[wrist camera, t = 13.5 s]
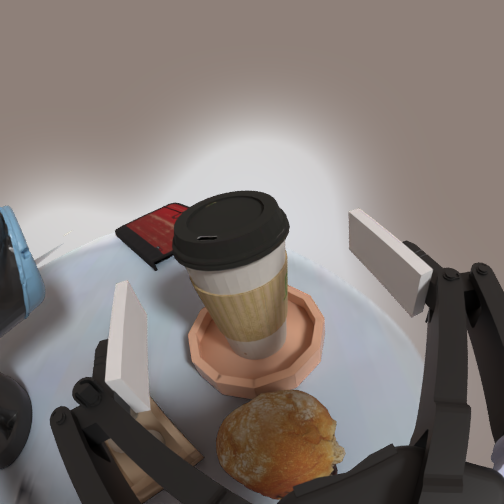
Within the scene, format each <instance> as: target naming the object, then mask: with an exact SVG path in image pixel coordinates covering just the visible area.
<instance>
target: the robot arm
mask: <svg viewBox="0 0 504 504" xmlns="http://www.w3.org/2000/svg"><path fill="white" fill-rule="evenodd" d="M349 249H350V251H351V252H352V253H353V254H354V255H355V256H356V257H357V258H358V259H359V260H360V261H361V262H362V263H363V264H364V266H365V267H366V268H367V269H368V270H369V271H370V272H371V273H372V274H373V275H374V276H375V277H376V278H377V279H378V280H379V282H380V283H381V284H382V285H383V286H384V287H385V288H386V289H387V290H388V292H389V293H390V294H391V295H392V296H393V297H394V298H395V299H396V300H397V302H398V303H399V304H400V305H401V306H402V307H403V308H404V309H405V311H406V312H407V313H408V314H409V315H410V316H411V317H414V316H416V315H418V314H419V313H421V312H423V309H424V305H425V303H426V304H427V306H428V307H429V311H428V314H427V318H426V321H425V322H426V323H427V321H428V328H427V343H426V355H425V356H426V357H425V366H424V375H423V383H422V390H421V397H420V404H419V410H418V415H417V421H416V426H415V430H414V433H413V435H412V438H411V441H410V444H409V446H397V447H394V445H393V444H390V445H388V446H386V447H384V448H382V449H381V450H379V451H377V452H375V453H373V454H371V455H369V456H368V457H367V458H365V459H364V460H363V461H362V462H360V463H359V464H358V465H356V466H355V467H354V468H353V469H351V470H350V471H348V472H346V473H342V474H336V475H330V476H324V477H318V478H315V479H313V480H310V481H307V482H304V483H301V484H299V485H296V486H293V491H291V492H290V493H288V494H287V495H286V496H284V497H283V498H282V499H281V500H280V501H279V502H278V503H277V504H504V292H503V290H502V288H501V286H500V284H499V282H498V280H497V278H496V276H495V274H494V272H493V271H492V269H491V268H490V267H489V266H488V265H486V264H484V263H475V264H473V265H472V268H471V271H470V272H466V273H459V272H458V271H456V270H455V269H452V268H442V267H441V266H440V265H439V264H438V263H436V262H435V261H434V260H433V259H432V258H431V257H429V256H428V255H426V253H425V252H424V251H421V249H420V248H419V247H418V246H416V245H415V244H413V243H411V242H409V241H404V242H401V241H400V240H398V239H397V238H396V237H395V236H393V235H392V234H391V233H390V232H389V231H387V230H386V229H385V228H384V227H382V226H381V225H380V224H379V223H377V222H376V221H375V220H374V219H372V218H371V217H370V216H368V215H367V214H366V213H365V212H363V211H362V210H361V209H355V210H352V211H349ZM44 297H45V286H44V283H43V280H42V278H41V275H40V273H39V270H38V268H37V266H36V263H35V261H34V259H33V257H32V255H31V253H30V252H29V248H28V246H27V244H26V240H25V238H24V236H23V233H22V231H21V228H20V226H19V224H18V221H17V219H16V217H15V214H14V212H13V210H12V209H11V207H9V206H4V207H0V338H1V337H2V336H3V335H4V334H6V333H7V332H8V331H9V330H11V329H12V328H13V327H14V326H16V325H17V324H18V323H19V322H21V321H22V320H23V319H26V318H27V317H28V316H29V313H30V312H32V311H33V310H34V309H35V308H36V307H37V306H38V305H40V304H41V303H42V301H43V300H44ZM467 330H468V333H469V337H470V340H471V343H472V346H473V350H474V354H475V357H476V361H477V365H478V369H479V373H480V376H481V381H482V385H483V390H484V395H485V399H486V404H487V410H488V415H489V421H490V426H491V431H492V435H493V438H494V441H495V445H494V449H493V453H492V455H491V460H492V462H493V463H494V467H493V469H491V468H487V467H483V466H479V465H476V464H472V463H469V462H465V461H466V454H467V447H468V439H469V430H470V420H471V407H470V406H469V405H467V379H468V350H467ZM72 396H73V398H74V400H75V401H76V402H77V403H78V404H80V406H78V407H76V408H74V409H72V410H69V409H68V408H67V407H65V406H60V407H58V408H56V409H55V410H54V411H53V413H52V414H51V417H50V425H51V429H52V432H53V435H54V438H55V441H56V443H57V446H58V449H59V452H60V454H61V457H62V460H63V462H64V465H65V467H66V470H67V472H68V474H69V477H70V479H71V481H72V483H73V486H74V488H75V490H76V492H77V494H78V496H79V499H80V501H81V503H82V504H141V502H140V501H139V499H138V498H137V496H136V495H135V493H134V492H133V490H132V489H131V487H130V486H129V484H128V482H127V481H126V479H125V477H124V476H123V474H122V472H121V471H120V469H119V467H118V466H117V464H116V462H115V460H114V458H113V457H112V455H111V453H110V451H109V449H108V447H107V446H106V444H105V442H104V441H106V440H108V439H110V438H111V439H112V440H113V441H114V442H115V444H116V445H117V446H118V447H119V448H120V449H121V450H122V451H123V452H124V453H125V454H126V455H127V456H128V457H129V458H130V459H131V460H132V461H134V462H135V463H136V464H137V465H138V466H139V467H140V468H141V469H142V470H143V471H144V472H145V473H146V474H148V475H149V476H150V477H151V478H152V479H153V480H154V481H155V482H157V483H158V484H159V485H160V486H161V487H163V488H164V489H165V490H166V491H167V492H169V493H170V494H171V495H172V496H174V497H175V498H176V499H177V500H179V501H180V502H181V503H182V504H252V503H250V502H248V501H246V500H245V499H243V498H241V497H240V496H238V495H236V494H235V493H233V492H231V491H230V490H228V489H226V488H225V487H223V486H222V485H220V484H219V483H217V482H215V481H214V480H212V479H211V478H209V477H208V476H207V475H205V474H204V473H202V472H201V471H199V470H198V469H196V468H195V467H194V466H192V465H191V464H189V463H188V462H187V461H185V460H184V459H183V458H181V457H180V456H179V455H177V454H176V453H175V452H174V451H172V450H171V449H170V448H168V447H167V446H166V445H165V444H163V443H162V442H161V441H160V440H159V439H157V438H156V437H155V436H154V435H153V434H151V433H150V432H149V431H148V430H147V429H146V428H144V427H143V426H142V425H141V424H140V423H139V422H138V421H136V420H135V419H134V418H133V417H132V416H131V414H130V408H131V409H132V410H133V411H134V412H135V413H139V412H144V411H149V410H151V409H150V396H149V378H148V352H147V314H146V312H145V310H144V309H143V307H142V305H141V303H140V301H139V300H138V298H137V296H136V294H135V292H134V290H133V288H132V287H131V285H130V283H129V281H128V280H126V281H123V282H120V283H117V284H116V287H115V293H114V300H113V307H112V314H111V322H110V330H109V339H106V340H102V341H100V342H99V344H98V346H97V348H96V350H95V360H94V367H93V376H92V378H91V377H85V378H82V379H81V380H79V381H78V382H77V383H76V384H75V386H74V388H73V391H72ZM31 419H32V409H31V402H30V399H29V396H28V394H27V393H26V391H25V390H24V389H23V388H22V387H21V386H20V385H19V384H18V383H17V382H16V381H15V380H13V379H12V378H10V377H8V376H6V375H4V374H2V373H1V372H0V469H3V468H5V467H7V466H8V465H10V464H11V463H12V462H13V461H14V460H15V459H16V458H17V457H18V455H19V454H20V452H21V451H22V449H23V447H24V445H25V443H26V440H27V438H28V435H29V431H30V427H31Z"/></svg>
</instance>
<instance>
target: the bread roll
mask: <svg viewBox="0 0 504 504" xmlns="http://www.w3.org/2000/svg"><path fill="white" fill-rule="evenodd" d="M336 425H337V424H336V421H335V420H333V419H332V418H331V416H330V414H329V412H328V410H327V409H326V407H324V406H323V405H322V404H321V403H320V402H319V401H318V400H317V399H316V398H314V397H313V396H311V395H309V394H308V393H305V392H303V391H299V390H279V391H276V392H269V393H264V394H263V393H261V394H260V395H259V396H257V397H256V398H255V399H252V400H251V401H249V402H248V403H245V404H243V405H242V406H240V407H238V408H237V409H235V410H234V411H233V412H231V413H230V414H229V415H228V416H227V417H226V418H225V419H224V420H223V422H222V424H221V426H220V428H219V431H218V434H217V439H216V452H217V456H218V459H219V463H220V465H221V467H223V469H224V470H225V471H226V472H227V473H228V474H229V475H230V476H231V477H232V478H233V479H236V480H237V481H238V482H240V483H242V484H244V486H245V487H247V488H248V489H251V490H253V491H254V492H257V493H260V494H262V495H263V496H267V497H270V498H272V499H277V500H279V499H282V498H283V497H284V496H286V495H287V494H288V493H290V492H291V491H293V486H296V485H299V484H301V483H304V482H307V481H310V480H313V479H315V478H318V477H324V476H330V475H336V474H337V471H338V470H337V467H336V464H338V463H340V462H342V461H343V458H344V456H345V450H344V448H343V447H341V446H339V445H338V442H337V441H336V438H335V435H334V434H335V429H336Z"/></svg>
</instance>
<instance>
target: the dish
mask: <svg viewBox="0 0 504 504" xmlns="http://www.w3.org/2000/svg"><path fill="white" fill-rule="evenodd" d="M286 331H287V335H286V340H285V343H284V345H283V346H282V348H281V349H280V350H279V351H278V352H276V353H275V354H273V355H271V356H269V357H267V358H263V359H258V360H250V359H246V358H243V357H240V356H239V355H237V354H236V353H235V352H234V351H233V349H232V348H231V346H230V344H229V343H228V341H227V339H226V338H225V336H224V335H223V334H222V333H221V332H220V330H219V329H218V327H217V325H216V324H215V322H214V320H213V319H212V317H211V315H210V314H209V312H208V310H207V309H206V307H204V308H203V309H201V310H200V312H199V314H198V316H197V318H196V320H195V322H194V324H193V326H192V328H191V330H190V332H189V334H188V338H189V345H190V352H191V358H192V362H193V364H194V365H195V367H196V369H197V371H198V372H199V374H200V375H201V376H202V377H203V378H204V379H206V380H207V381H208V382H209V383H210V384H211V385H212V386H213V387H214V388H216V389H217V390H218V391H219V392H220V393H221V394H223V395H229V396H235V397H241V398H247V399H255V398H256V397H257V396H259V395H260V394H261V393H263V394H264V393H269V392H276V391H279V390H291V389H294V388H296V387H298V386H299V384H300V383H301V382H302V381H303V380H304V379H305V378H306V377H307V376H308V375H309V374H310V373H311V372H312V371H313V369H314V368H315V367H316V366H317V365H318V364H319V363H320V362H321V356H322V350H323V343H324V336H325V321H324V317H323V315H322V313H321V312H320V310H319V309H318V307H317V305H316V304H315V302H314V300H313V299H312V297H311V296H310V295H308V294H306V293H304V292H302V291H300V290H298V289H295V288H293V287H291V286H289V285H288V312H287V317H286Z"/></svg>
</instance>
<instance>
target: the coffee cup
mask: <svg viewBox="0 0 504 504" xmlns="http://www.w3.org/2000/svg"><path fill="white" fill-rule="evenodd" d="M289 228H290V226H289V222H288V219H287V216H286V214H285V213H284V212H283V210H282V209H280V208H279V206H278V204H277V202H276V200H275V199H274V198H273V197H271V196H270V195H268V194H266V193H263V192H258V191H235V192H229V193H224V194H220V195H216V196H213V197H210V198H207V199H205V200H203V201H200V202H198V203H196V204H195V205H193V206H191V207H190V208H188V209H187V210H185V211H184V212H183V213H182V214H181V215H180V216H179V217H178V218H177V220H176V221H175V224H174V237H173V240H172V249H173V254H174V257H175V259H176V260H177V261H178V262H179V263H180V264H181V265H183V266H185V267H186V269H187V271H188V273H189V275H190V280H191V282H192V284H193V286H194V288H195V290H196V291H197V293H198V295H199V297H200V298H201V300H202V302H203V303H204V305H205V307H206V309H207V310H208V312H209V314H210V315H211V317H212V319H213V320H214V322H215V324H216V325H217V327H218V329H219V330H220V332H221V333H222V334H223V335H224V336H225V338H226V339H227V341H228V343H229V344H230V346H231V348H232V349H233V351H234V352H235V353H236V354H237V355H239V356H240V357H243V358H246V359H250V360H258V359H263V358H267V357H269V356H271V355H273V354H275V353H276V352H278V351H279V350H280V349H281V348H282V346H283V345H284V343H285V340H286V335H287V331H286V317H287V312H288V279H287V253H286V250H285V239H286V237H287V235H288V233H289Z"/></svg>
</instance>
